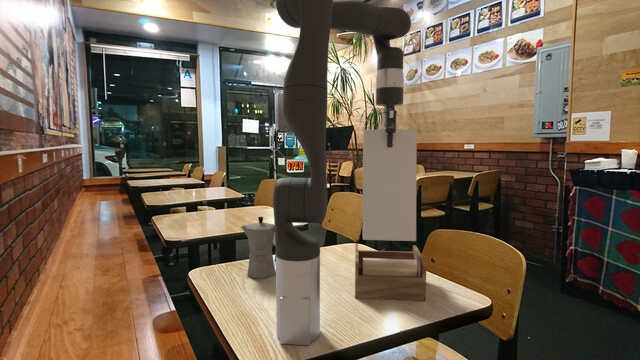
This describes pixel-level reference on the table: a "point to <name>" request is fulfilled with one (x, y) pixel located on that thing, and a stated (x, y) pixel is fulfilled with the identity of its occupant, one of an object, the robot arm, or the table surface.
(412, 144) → the brochure
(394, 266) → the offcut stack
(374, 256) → the rack
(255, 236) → the coffeepot
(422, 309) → the table surface
